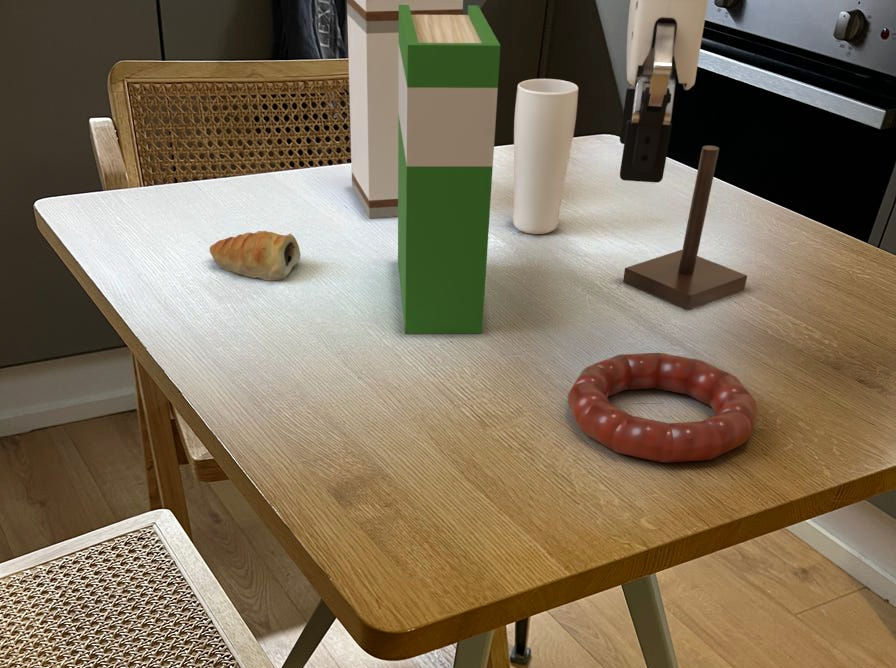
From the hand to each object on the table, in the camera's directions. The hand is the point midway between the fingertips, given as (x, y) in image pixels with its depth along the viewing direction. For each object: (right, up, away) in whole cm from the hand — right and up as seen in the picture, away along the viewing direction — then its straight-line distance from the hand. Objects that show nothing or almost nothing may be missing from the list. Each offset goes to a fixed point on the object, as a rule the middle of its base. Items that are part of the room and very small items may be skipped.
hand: (639, 161), depth 77 cm
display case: (-20, +17, +45) cm, 52 cm away
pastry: (-35, +2, +28) cm, 44 cm away
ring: (+3, -19, +3) cm, 19 cm away
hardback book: (-16, -3, +23) cm, 28 cm away
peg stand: (+11, -1, +26) cm, 28 cm away
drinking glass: (-4, +11, +38) cm, 40 cm away
